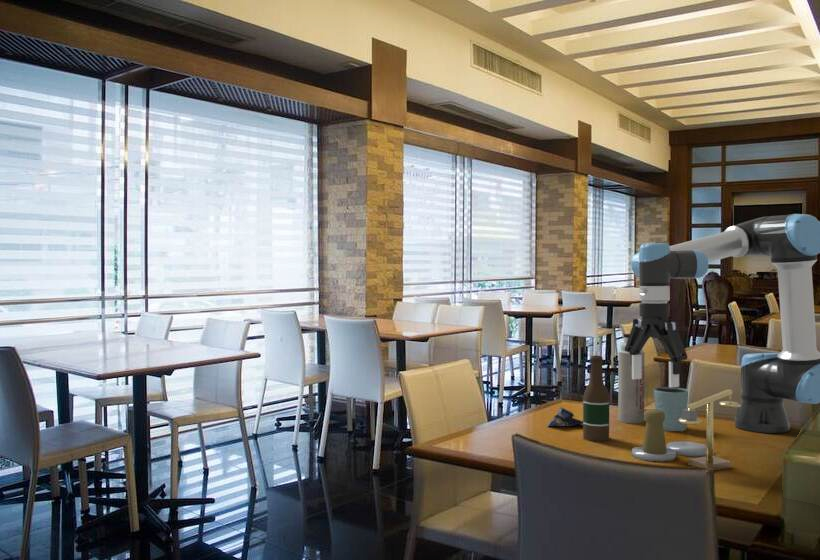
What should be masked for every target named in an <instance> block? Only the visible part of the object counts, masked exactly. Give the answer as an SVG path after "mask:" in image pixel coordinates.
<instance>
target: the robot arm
mask: <svg viewBox="0 0 820 560" xmlns="http://www.w3.org/2000/svg"><path fill="white" fill-rule="evenodd" d="M819 254H820V220H818V218H817V217H816V216H813V215H812V214H807V213H801V214H800V213H792V214H785V215H784V214H783V215H771V216H762V217H758V218H754V219H751V220H748V221H744V222H741V223H737V224H735V225H732V226H729V227H727V228H726V229H725V230H724V231H722V232H718V233H715V234H711V235H707V236H702V237H700V238H696V239H692V240H687V241H684V242H682V243H677V244H673V245H670V244H669V243H667V242H663V243H662V242H657V243H656V242H654V243H652V242H651V243H642V244H641V245H640V247H639V252H637V253H635V254H634V255H633V257H632V258H631V262H630V267H631V271H632V272H633V274H634V275H635V276H636V277H639V278H638V279H639V281H638V283H639V301H640V303H639V305H638V306H639V312H638V313H639V317H641V318H633V319H632V325H631V326H632V327H631V330H630V333H629V334H630V335H629V338H628V341H627V344H626V346H625V351H628V352H629V353H630V355H631V366H632V379H642V355H638V354H641V353H640V351H641V349H642V350H643V348H644V346H645V344H647V341H648V340H649V339H650V338H653V339H657V340H658V341H660V343H661V345H662V347H663V348H664V350H665V352H666V353H667V356H669V357H668V358H670V360H669V361H668V387H674V388H680V375H681V373H682V372H681V371H682V368H681V367H682V365H681V364H682V361H685V360H688V359H689V358H688V354H687V351H686V349H685V346H684V343H683V340H682V338H681V335H680V331H679V326H678V322H677V321H671V322H670V321H669V322H668V318H669V317H670V315H671V313H670V311H671V304H670V303H668V302H670V300H671V296H670V294H671V292H670V291H671V290H670V286H671V285H670V284H671V282H670V281H671V280H673V279H676V280H677V279H679V280H680V279H683V280H687V279H688V280H690V279H691V280H694V279H700V278H702V277H704V276H705V275H706V274H707V273H708V270H709V263H711V262H715V261H718V260H723V259H726V258H729V257H733V258H737V259H738V258H742V257H747V256H769V257H770V263H771V264H772V265H773V266H774V267H775V268H776V269H777V280H778V282H777V283H778V294H779V295H778V297H779V311H780V324H781V325H780V326H781V341H782V342H781V344H782V350H781V352H761V353H759V352H758V353H755V352H754V353H746V354H744V355H743V356H742V358H741V366H740V383H741V384H740V389H741V390H740V395H741V396H740V403H741V407H737V408H738V409H737V412H736V415H735V417H734V426H735V428H738V429H741V430H745V431H749V432H755V433H765V434H766V433H767V434H780V433H782V434H783V433H787V432H789V431H790V430H791V427H790V420H789V419H788V414H787V412H786V409H785V405H784V399H785V400H791V401H795V402H798V403H801V404H810V405H818V404H820V351H818V349H817V333H816V319H815V318H816V316H815V302H814V286H813V285H814V283H813V270H812V267H813V265H815V263H816V262H817V261H818V255H819ZM630 346H631V347H630Z"/></svg>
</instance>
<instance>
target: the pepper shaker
mask: <svg viewBox="0 0 820 560" xmlns="http://www.w3.org/2000/svg"><path fill="white" fill-rule="evenodd" d="M664 420H665V414H664V412H663V411H661V410H658V409H655V408H651V409H647V410H644V421H645V422H646V423H645V431H644V437H643V445H642V446H643V452H645V453H649V454H665V453H667V450H666V448H667V442H666V438H665V431H664V428H663V422H664Z"/></svg>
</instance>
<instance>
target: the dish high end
mask: <svg viewBox="0 0 820 560" xmlns="http://www.w3.org/2000/svg"><path fill="white" fill-rule="evenodd" d="M666 448H668V449H671V450H673V451H675V452H676V455H677V454H678V456H682V457H683V456H685V457H694V458H699V457H706V444H703V443H699V442H693V441H686V440H685V441H681V440H680V441H669V442H668V443H667V442H666ZM698 456H699V457H698Z"/></svg>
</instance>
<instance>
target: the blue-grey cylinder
mask: <svg viewBox="0 0 820 560" xmlns="http://www.w3.org/2000/svg"><path fill="white" fill-rule="evenodd" d="M653 398H654V405H655V406H654V409H658V410H661V411H663V412H664V414H665V420H664V422H663V428H664V430H665V431H664V432H671V431H681V432H685V431H686V430H687V424H683V423H680V422H679V418H682V410H683V409H688V407H687V405H688V403H689V390H688V389H686V388H682V387H681V388H680V387H669V386H661V387H660V386H659V387H654V388H653ZM684 430H685V431H684Z"/></svg>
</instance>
